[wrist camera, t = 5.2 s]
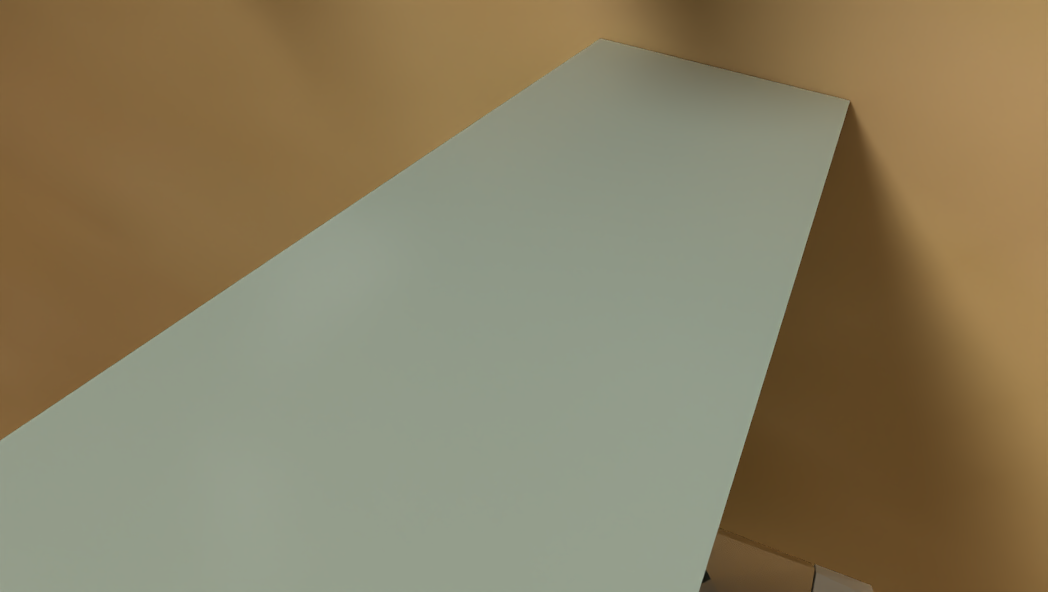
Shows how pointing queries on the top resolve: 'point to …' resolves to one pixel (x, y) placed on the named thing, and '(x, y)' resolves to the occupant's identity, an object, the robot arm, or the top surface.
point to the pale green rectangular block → (459, 364)
